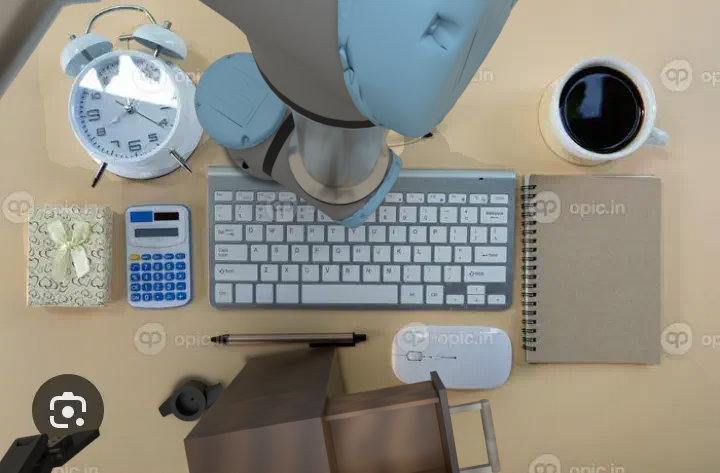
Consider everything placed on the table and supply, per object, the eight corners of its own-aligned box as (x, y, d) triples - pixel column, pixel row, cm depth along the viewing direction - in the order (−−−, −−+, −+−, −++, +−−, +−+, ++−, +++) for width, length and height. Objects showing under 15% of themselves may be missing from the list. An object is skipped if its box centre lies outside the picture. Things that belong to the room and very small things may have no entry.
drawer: (474, 363, 57) (489, 381, 51) (492, 470, 58) (509, 501, 51) (319, 389, 57) (314, 410, 51) (338, 496, 58) (335, 531, 51)
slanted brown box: (335, 344, 79) (321, 416, 49) (348, 423, 79) (342, 541, 49) (249, 359, 79) (183, 439, 49) (263, 437, 79) (205, 564, 49)
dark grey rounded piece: (169, 368, 79) (162, 374, 76) (228, 381, 79) (223, 387, 76) (160, 413, 79) (152, 420, 76) (218, 425, 79) (213, 433, 76)
